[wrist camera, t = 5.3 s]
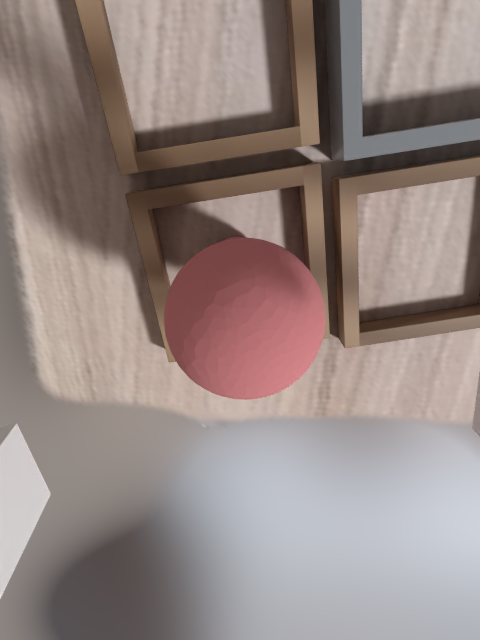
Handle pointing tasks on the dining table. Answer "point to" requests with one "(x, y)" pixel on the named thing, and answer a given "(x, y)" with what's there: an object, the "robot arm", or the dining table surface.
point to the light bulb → (244, 318)
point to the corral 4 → (348, 254)
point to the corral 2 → (221, 188)
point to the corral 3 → (348, 97)
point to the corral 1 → (135, 161)
